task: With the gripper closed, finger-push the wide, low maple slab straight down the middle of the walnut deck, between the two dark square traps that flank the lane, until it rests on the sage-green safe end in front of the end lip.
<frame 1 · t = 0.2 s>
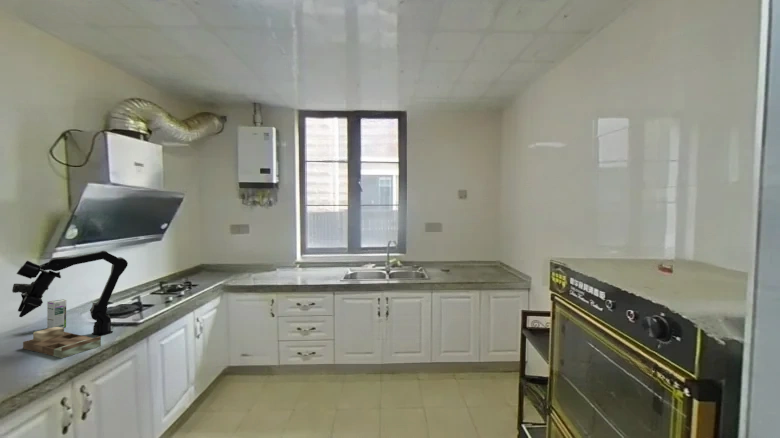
hand: (19, 314, 176), 15 cm above the counter, fingers open, 9 cm apart
maple slab: (48, 337, 180), point 3 cm above the counter, touching trap deck
trap deck: (62, 347, 177), on the counter
syrup box: (56, 328, 202), on the counter
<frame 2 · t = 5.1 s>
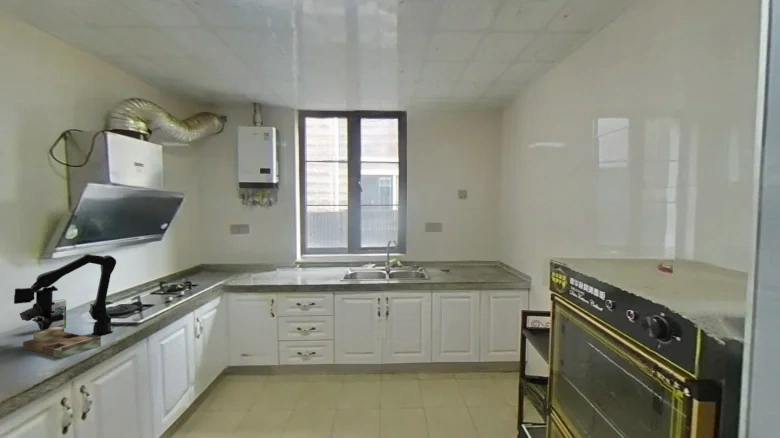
hand: (43, 333, 181), 4 cm above the counter, fingers closed
maple slab: (49, 337, 180), point 3 cm above the counter, touching gripper
everything else where it was.
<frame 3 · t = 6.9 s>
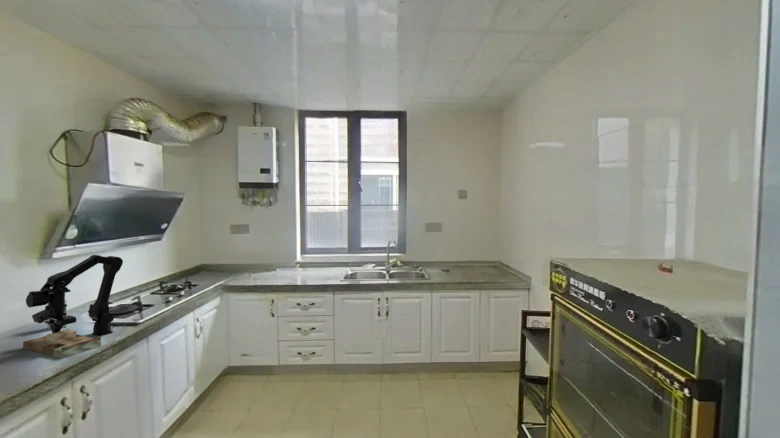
hand: (55, 336, 178), 4 cm above the counter, fingers closed
maple slab: (61, 340, 177), point 3 cm above the counter, touching gripper, trap deck
everything else where it was.
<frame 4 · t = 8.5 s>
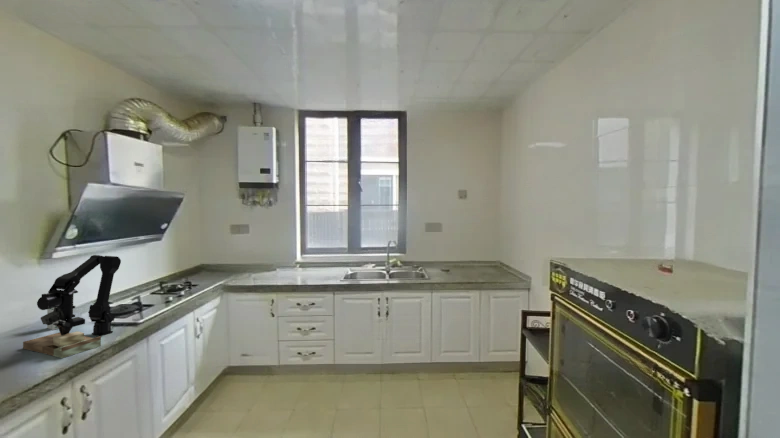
hand: (64, 338, 177), 4 cm above the counter, fingers closed
maple slab: (68, 342, 175), point 3 cm above the counter, touching gripper, trap deck
everything else where it was.
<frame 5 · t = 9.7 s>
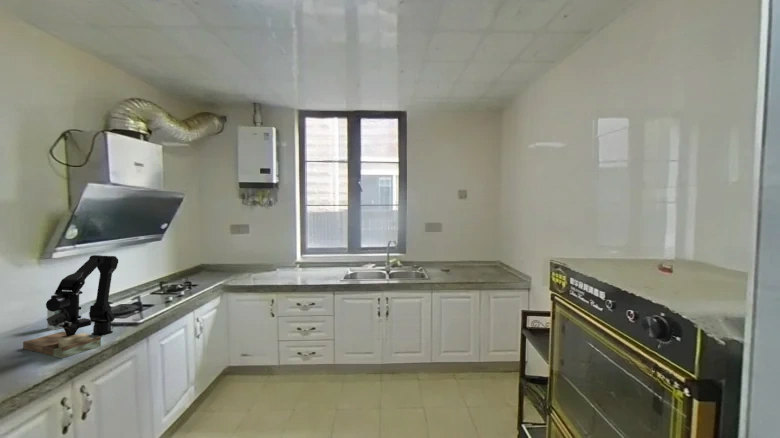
hand: (70, 339, 175), 4 cm above the counter, fingers closed
maple slab: (74, 344, 174), point 3 cm above the counter, touching gripper, trap deck
everything else where it was.
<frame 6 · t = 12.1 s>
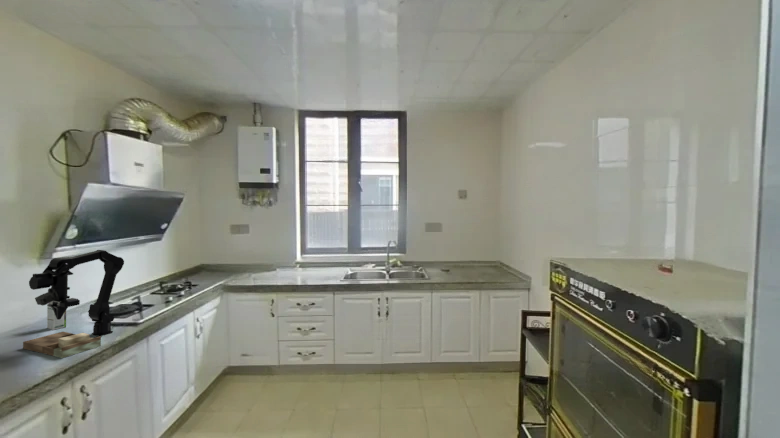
hand: (58, 319, 178), 12 cm above the counter, fingers closed
maple slab: (74, 344, 174), point 3 cm above the counter, touching trap deck
everything else where it was.
at the end: maple slab inside the target area on the trap deck (0.8 cm from its centre), point 3.0 cm above the trap deck's base; maple slab tilted 0° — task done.
